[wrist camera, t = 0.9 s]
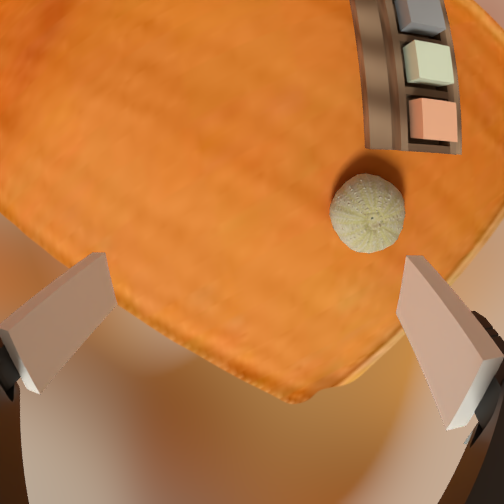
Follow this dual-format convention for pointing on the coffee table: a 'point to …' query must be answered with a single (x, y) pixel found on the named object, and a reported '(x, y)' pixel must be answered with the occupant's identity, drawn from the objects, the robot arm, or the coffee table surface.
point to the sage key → (428, 63)
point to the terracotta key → (433, 119)
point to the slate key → (420, 16)
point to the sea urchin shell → (367, 213)
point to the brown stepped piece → (396, 79)
